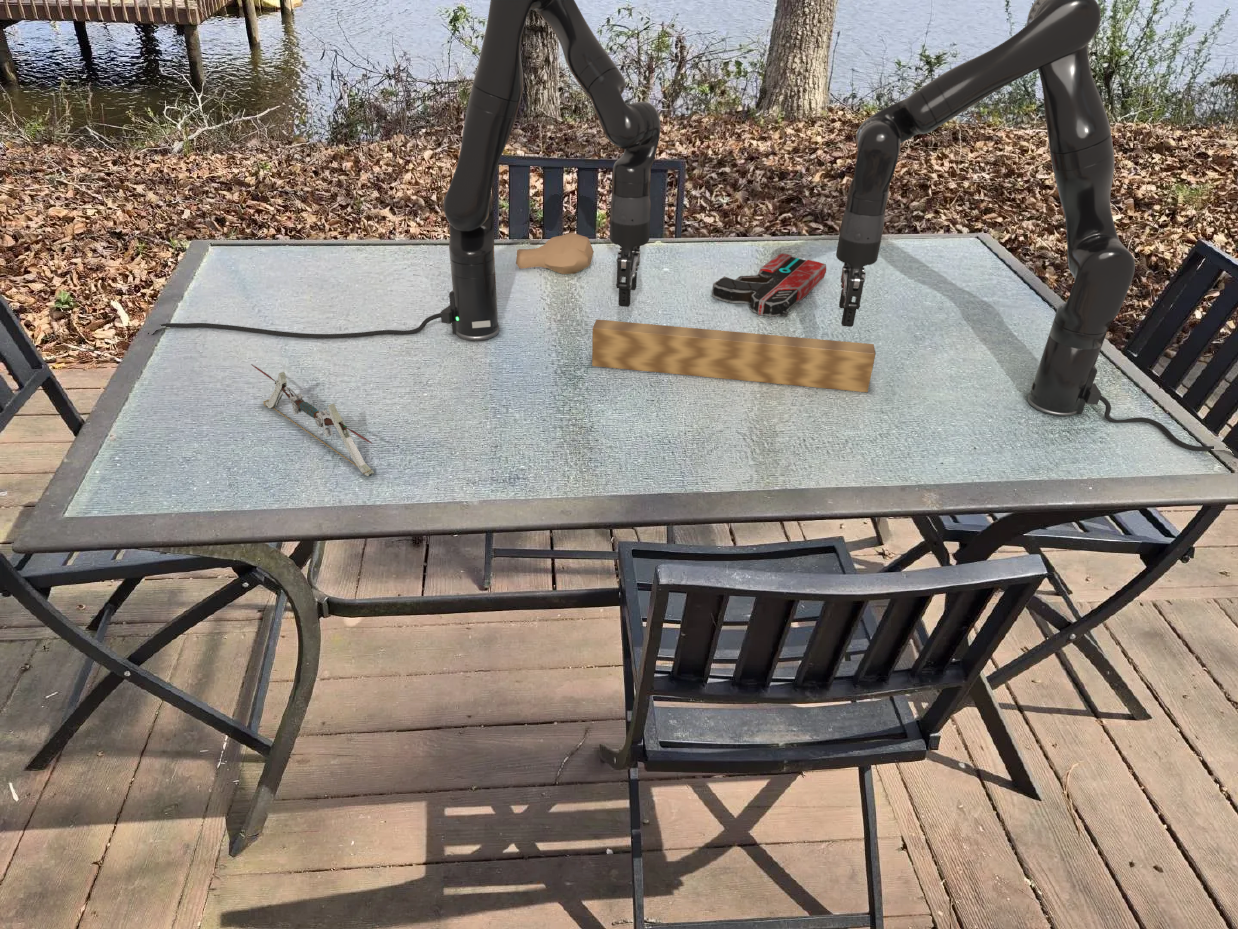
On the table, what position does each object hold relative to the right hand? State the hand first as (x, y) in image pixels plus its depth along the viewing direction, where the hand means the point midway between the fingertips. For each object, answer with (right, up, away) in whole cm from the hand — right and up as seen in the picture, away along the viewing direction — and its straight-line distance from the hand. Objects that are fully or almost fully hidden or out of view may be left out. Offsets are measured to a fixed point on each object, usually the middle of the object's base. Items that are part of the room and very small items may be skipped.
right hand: (845, 316), depth 169 cm
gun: (-6, +14, +48) cm, 50 cm away
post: (-21, -10, +11) cm, 26 cm away
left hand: (-42, +5, +5) cm, 43 cm away
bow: (-97, -24, -14) cm, 101 cm away
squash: (-60, +22, +56) cm, 85 cm away
